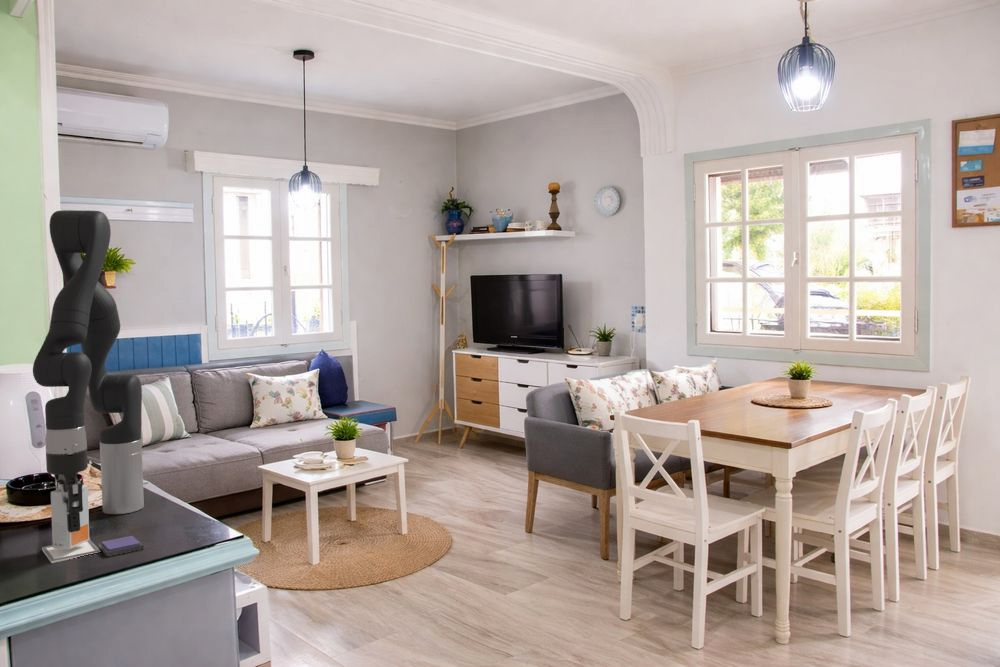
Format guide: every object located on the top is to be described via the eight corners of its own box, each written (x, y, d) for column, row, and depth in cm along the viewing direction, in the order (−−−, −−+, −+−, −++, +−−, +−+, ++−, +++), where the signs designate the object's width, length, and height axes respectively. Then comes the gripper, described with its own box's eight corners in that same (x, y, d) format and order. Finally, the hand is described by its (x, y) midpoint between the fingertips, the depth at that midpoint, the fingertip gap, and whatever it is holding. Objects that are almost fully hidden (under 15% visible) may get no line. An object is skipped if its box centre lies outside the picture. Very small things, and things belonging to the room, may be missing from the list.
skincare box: (70, 550, 163) (67, 492, 163) (52, 548, 164) (49, 491, 163) (90, 540, 169) (88, 484, 168) (73, 538, 170) (70, 483, 169)
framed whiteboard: (42, 549, 168) (42, 547, 168) (89, 540, 173) (89, 538, 173) (51, 563, 160) (51, 560, 160) (100, 553, 166) (100, 550, 166)
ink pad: (99, 548, 169) (98, 541, 169) (134, 541, 173) (133, 534, 173) (107, 557, 163) (107, 550, 163) (143, 549, 168) (143, 543, 168)
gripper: (39, 445, 168) (43, 522, 170) (53, 457, 157) (57, 539, 159) (78, 440, 173) (82, 515, 174) (94, 451, 162) (98, 531, 163)
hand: (70, 526), depth 166 cm, fingers closed on skincare box, 7 cm apart
